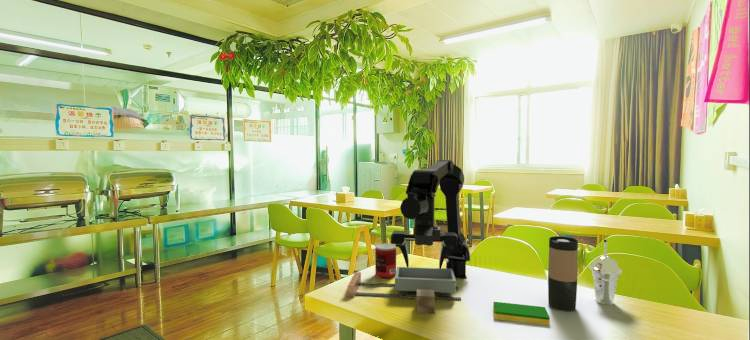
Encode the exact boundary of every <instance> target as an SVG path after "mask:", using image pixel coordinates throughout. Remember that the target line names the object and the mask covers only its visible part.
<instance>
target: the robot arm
mask: <svg viewBox="0 0 750 340" xmlns="http://www.w3.org/2000/svg"><path fill="white" fill-rule="evenodd" d="M407 183H408V184H407V187H406V190H405V194H406V195H407V196H406V197H405V198H404V199H403V200H402V201H401V204H400V205H399V206H400V207H399V209H400V212H401V214H402V215H403V218H406V219H408V220H413V223H414V224H413V234H410V233H406V231H407V230H393V231H392V232H391V235H390V244H393V245H395V246H396V248H399V250H400V251H401V253H402V256H403V260H404V262H405V265H406V266H405V267H410V266H409V265H410V264H409V261H410V260H409V253H408V252H409V251H408V242H407V241H409V242H414V244H415V245H416V246H429V247H430V246H433V245H434V243H437V242H438V243H440V244H441V245H440V253H439V262H438V263H439V265H438V268H439V269H441V268H442V267H443V263H444V260H447V261H445V268H446V269H453V273H454V276H455V279H467V274H466V272H467V269H466V267H467V266H466V265H467V264H466V263H467V262H470V261H471V251H470V249H469V246H468V244H467V240H466V239H467V238H466V237H465V236H464V234H463V232H462V231H461V230H462V229H461V212H460V211H461V210H460V192H461V191H462V189H463V187H464V183H465V175H464V172H463V170H462V168H461V167H459V166H457V164H455V163H454V161H453V160H451V159H438V160H436V162H435V163H433V164H432V165H430V166H429V167H427V168H425V169H424V168H423V169H422V168H421V169H415V170H414V171H412V173H411V175H410V176H409V180H408V182H407ZM438 188H439V189H440V191H441V193H442V194H443V196H444V197H445V210H446V211H445V214H446V227H447V231H446V232H445V231H443V232H442V234H441V226H435V197H436V196H437V195H436V193H437V191H438Z"/></svg>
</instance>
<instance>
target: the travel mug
mask: <svg viewBox="0 0 750 340" xmlns="http://www.w3.org/2000/svg"><path fill="white" fill-rule="evenodd" d="M548 241H549V242H548V270H547V271H548V272H547V286H548V287H547V288H548V289H547V290H548V291H547V293H548V295H547V296H548V298H547V299H548V306H549V307H550V308H551V309H554V310H557V311H560V312H574V311H575V310H576V308H577V307H576V306H577V293H578V292H577V291H578V266H579V265H578V262H579V261H578V259H579V257H578V256H579V255H578V254H579V241H578V239H576V238H573V237H568V236H558V235H557V236H550V237H549V239H548Z"/></svg>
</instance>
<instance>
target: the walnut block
mask: <svg viewBox="0 0 750 340" xmlns="http://www.w3.org/2000/svg"><path fill="white" fill-rule="evenodd" d="M416 295H417V298H416V314H427V315H429V314H431V315H435V313H436V312H435V308H436V307H435V306H436V305H435V302H436V301H435V300H436V299H435V296H436V295H435V292H434V290H420V289H417V291H416Z"/></svg>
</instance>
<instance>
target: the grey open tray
mask: <svg viewBox="0 0 750 340" xmlns="http://www.w3.org/2000/svg"><path fill="white" fill-rule="evenodd" d="M456 279H457V278H455V276H454V273H453V269H446V267H445V268H444V267H443V268H442V267H441V269H439V267H420V266H419V267H417V266H416V267H414V266H413V267H412V266H409V267H407V266H396V275H395V277H394V284H395V287H394V290H395V291H399V292H400V294H402V295H408V293H409V292H417V289H420V290H434V293H442V296H444V297H448V296H449V297H450V296H451V294H456V293H457V289H456V286H457V283H456V282H457V280H456Z"/></svg>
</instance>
